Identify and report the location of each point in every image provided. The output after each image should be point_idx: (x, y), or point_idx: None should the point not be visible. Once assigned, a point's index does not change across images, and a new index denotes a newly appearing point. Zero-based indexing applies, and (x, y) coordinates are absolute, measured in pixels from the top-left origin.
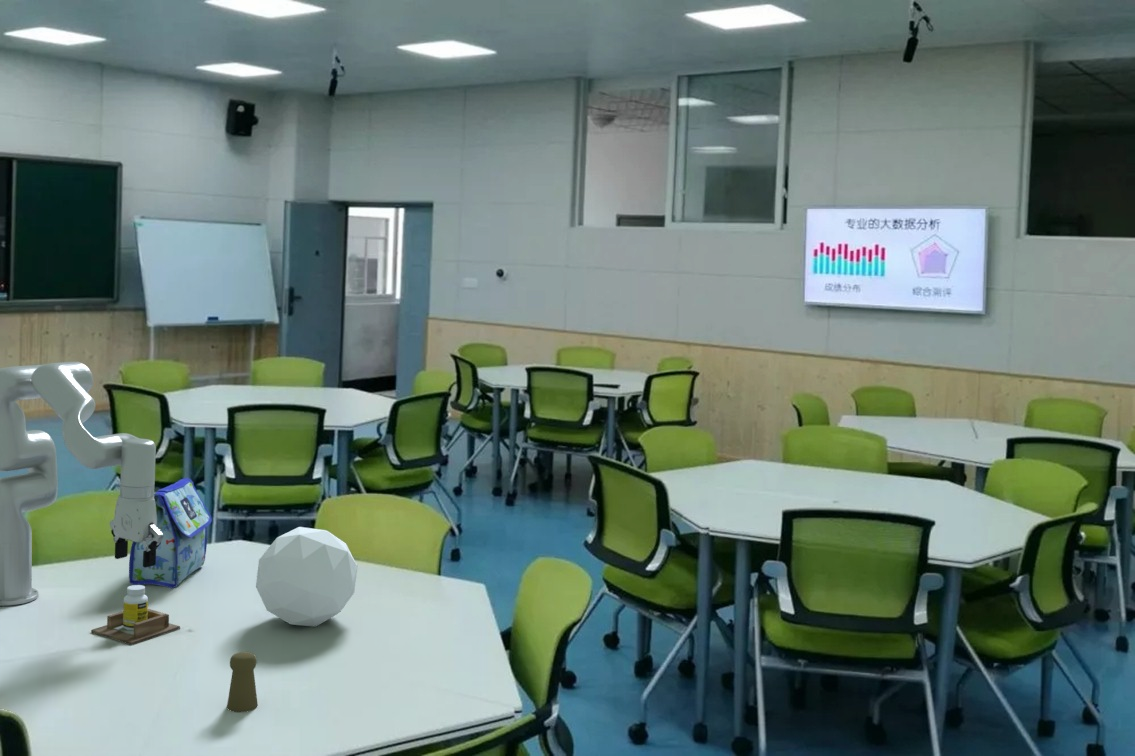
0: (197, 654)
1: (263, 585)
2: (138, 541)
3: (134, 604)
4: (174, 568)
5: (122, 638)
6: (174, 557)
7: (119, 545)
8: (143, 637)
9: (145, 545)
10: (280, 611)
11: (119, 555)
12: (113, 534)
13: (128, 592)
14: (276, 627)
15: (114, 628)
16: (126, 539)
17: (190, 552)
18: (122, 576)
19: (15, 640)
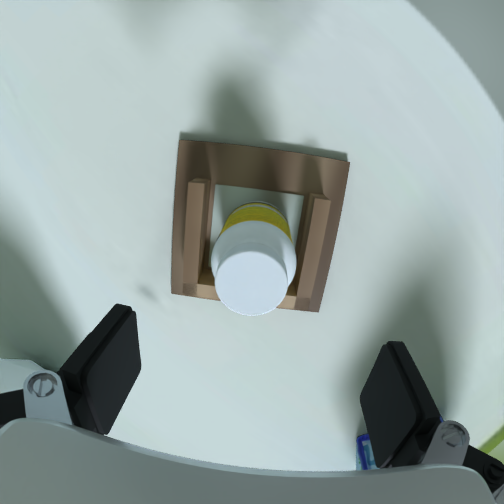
0: (37, 185)
1: (5, 392)
2: (35, 420)
3: (227, 228)
4: (368, 464)
5: (223, 148)
6: None
7: (404, 416)
8: (181, 185)
9: (45, 410)
10: (15, 362)
11: (383, 366)
12: (482, 460)
13: (260, 245)
14: (59, 361)
15: (298, 195)
16: (267, 470)
17: None
18: (458, 418)
19: (445, 51)
